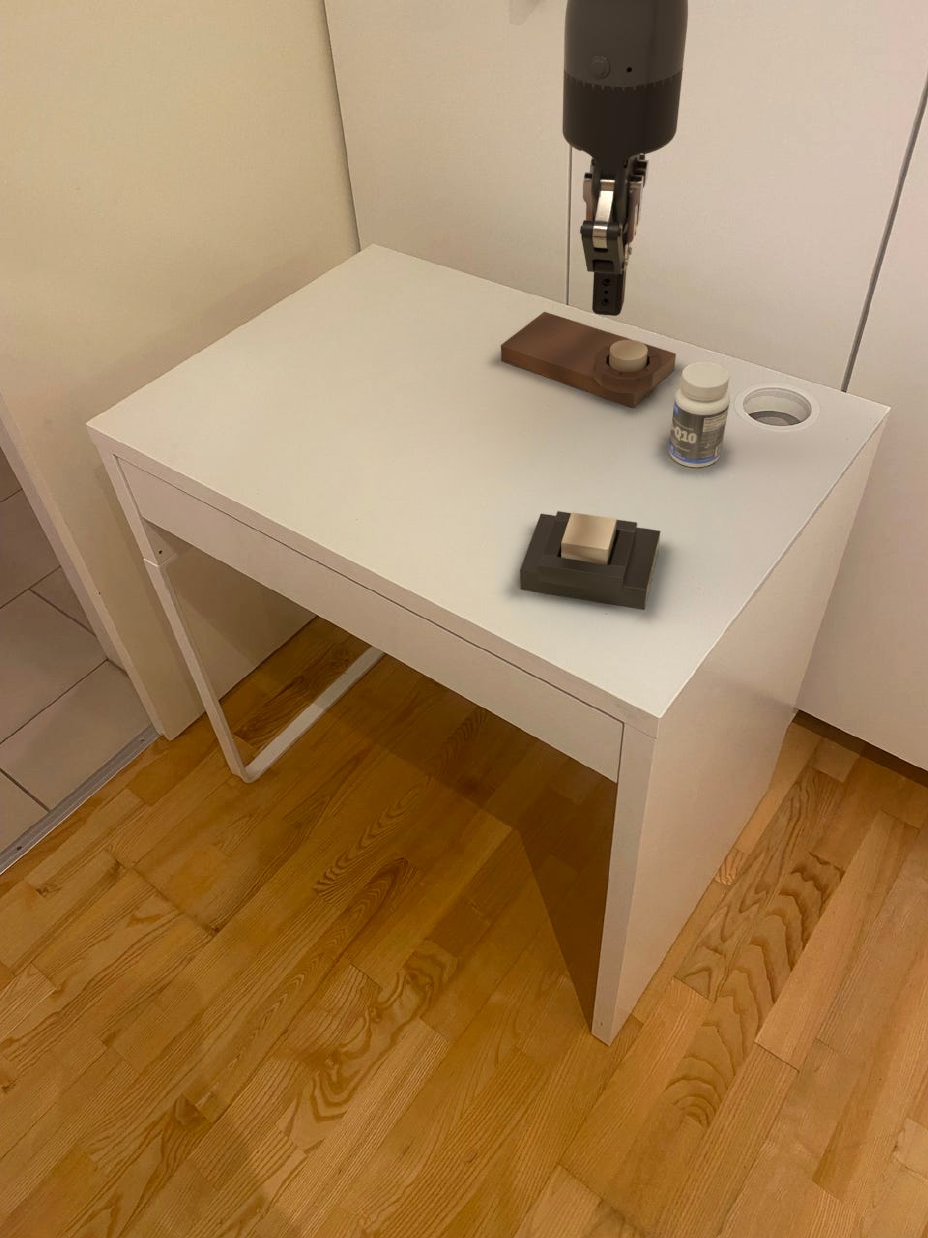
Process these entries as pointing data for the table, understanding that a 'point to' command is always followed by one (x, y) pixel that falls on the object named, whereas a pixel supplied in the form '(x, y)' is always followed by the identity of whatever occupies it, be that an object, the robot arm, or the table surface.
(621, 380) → the brown flat piece
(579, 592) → the key box
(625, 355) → the far key
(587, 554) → the near key
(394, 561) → the table surface
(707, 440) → the pill bottle
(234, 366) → the table surface
